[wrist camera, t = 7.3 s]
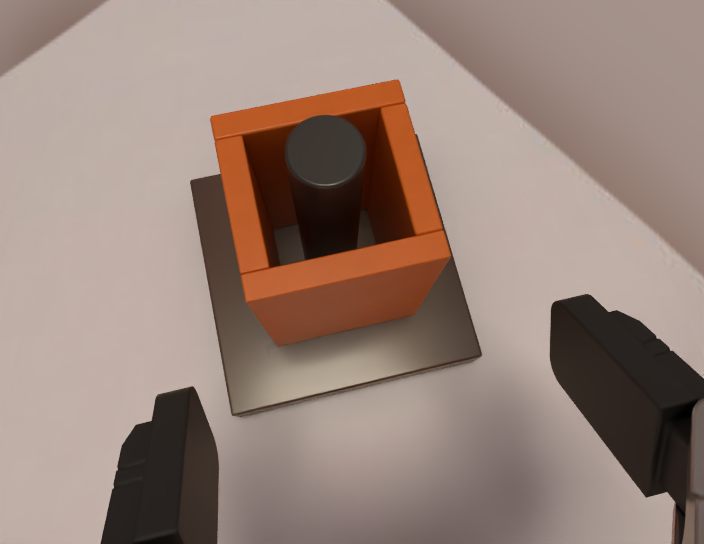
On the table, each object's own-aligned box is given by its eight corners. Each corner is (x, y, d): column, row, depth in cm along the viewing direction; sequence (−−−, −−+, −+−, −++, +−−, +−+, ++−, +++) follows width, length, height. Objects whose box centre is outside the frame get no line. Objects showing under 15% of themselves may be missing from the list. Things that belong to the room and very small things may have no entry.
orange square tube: (380, 188, 25) (399, 77, 17) (414, 315, 23) (452, 256, 16) (250, 216, 24) (209, 115, 17) (277, 346, 23) (245, 302, 15)
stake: (412, 148, 27) (464, -51, 16) (474, 360, 24) (587, 300, 13) (197, 193, 26) (93, 16, 15) (238, 417, 24) (148, 403, 13)
